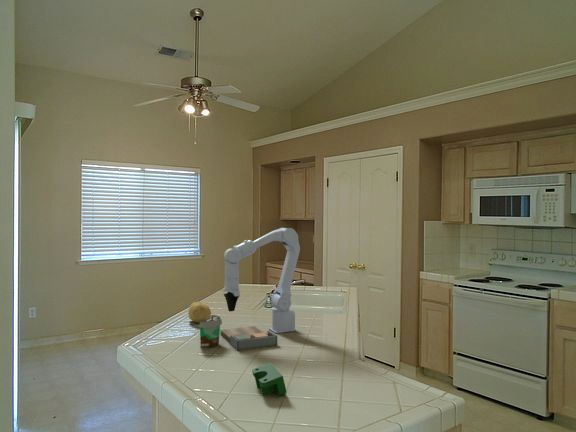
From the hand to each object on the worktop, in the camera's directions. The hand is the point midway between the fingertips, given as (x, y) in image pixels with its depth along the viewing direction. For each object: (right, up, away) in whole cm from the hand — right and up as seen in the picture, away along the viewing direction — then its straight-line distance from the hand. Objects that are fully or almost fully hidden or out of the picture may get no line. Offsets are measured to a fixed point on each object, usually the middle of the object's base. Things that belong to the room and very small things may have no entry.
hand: (231, 310), depth 174 cm
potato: (-17, -10, +21) cm, 29 cm away
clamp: (+18, -10, -55) cm, 59 cm away
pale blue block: (+6, -9, -13) cm, 17 cm away
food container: (-5, -10, -14) cm, 18 cm away
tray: (+10, -10, -13) cm, 19 cm away
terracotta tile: (+12, -10, -10) cm, 19 cm away
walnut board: (+5, -10, -3) cm, 12 cm away
